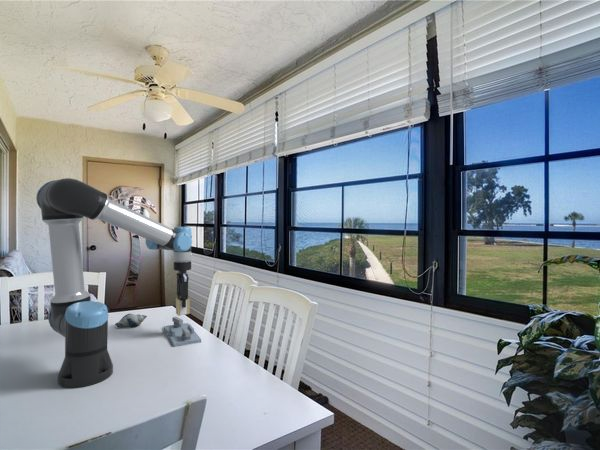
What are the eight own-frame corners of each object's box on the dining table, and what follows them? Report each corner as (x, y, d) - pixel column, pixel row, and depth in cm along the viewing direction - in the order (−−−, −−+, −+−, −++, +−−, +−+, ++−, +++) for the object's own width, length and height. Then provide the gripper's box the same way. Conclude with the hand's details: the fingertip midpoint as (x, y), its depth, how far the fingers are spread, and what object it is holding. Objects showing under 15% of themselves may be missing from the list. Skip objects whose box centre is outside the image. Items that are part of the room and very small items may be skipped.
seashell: (122, 328, 163) (145, 328, 162) (113, 325, 157) (137, 326, 155) (126, 314, 166) (148, 315, 165) (116, 312, 159) (140, 312, 158)
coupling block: (189, 313, 149) (189, 296, 149) (177, 315, 147) (177, 297, 147) (187, 311, 154) (187, 294, 153) (175, 312, 151) (175, 295, 151)
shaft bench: (201, 342, 142) (201, 330, 141) (173, 346, 136) (174, 334, 136) (187, 325, 164) (187, 315, 164) (163, 328, 158) (164, 318, 158)
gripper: (195, 262, 144) (195, 316, 144) (186, 258, 159) (186, 307, 160) (177, 263, 140) (177, 319, 140) (170, 259, 156) (169, 309, 156)
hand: (182, 312), depth 150 cm, fingers closed on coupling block, 5 cm apart
